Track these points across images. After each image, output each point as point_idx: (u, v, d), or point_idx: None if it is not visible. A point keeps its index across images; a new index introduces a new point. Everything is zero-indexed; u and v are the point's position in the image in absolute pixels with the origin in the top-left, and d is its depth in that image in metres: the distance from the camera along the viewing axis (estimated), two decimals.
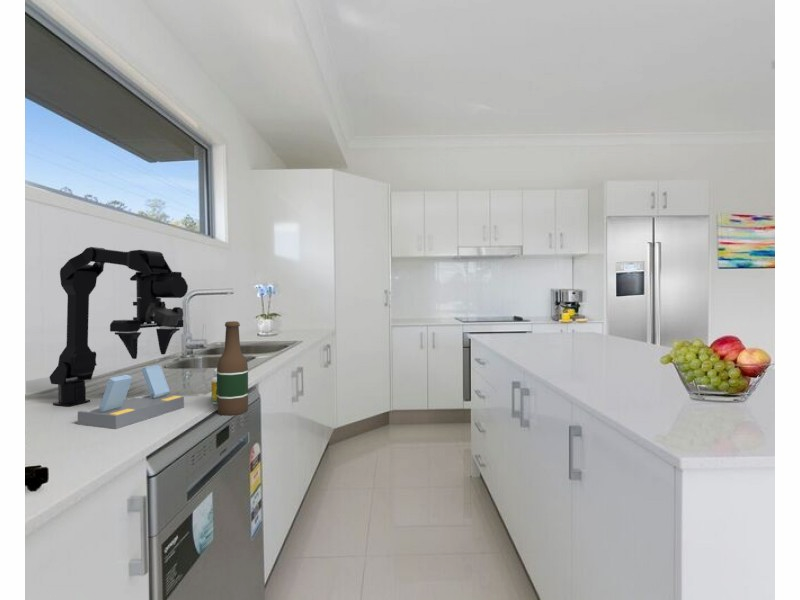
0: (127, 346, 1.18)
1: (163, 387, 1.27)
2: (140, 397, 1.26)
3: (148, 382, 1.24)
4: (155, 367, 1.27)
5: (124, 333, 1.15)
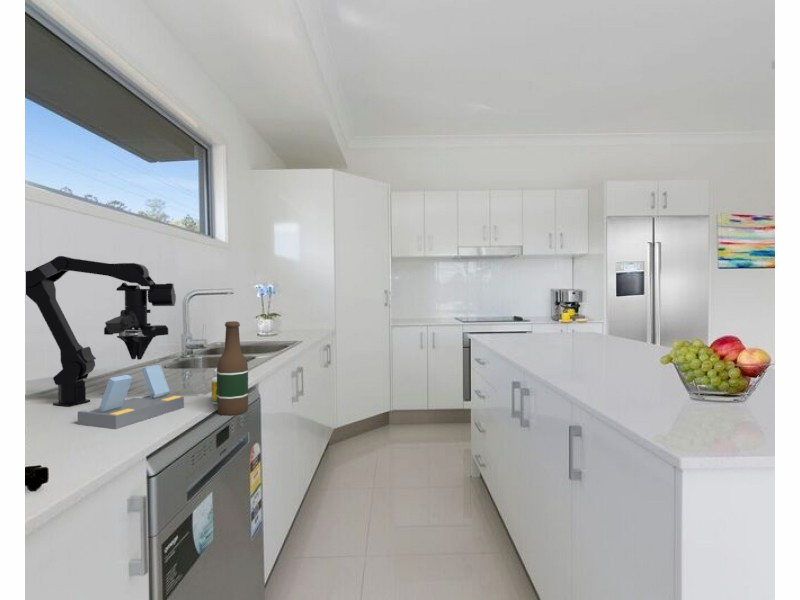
0: None
1: (163, 387, 1.27)
2: (140, 397, 1.26)
3: (148, 382, 1.24)
4: (155, 367, 1.27)
5: None
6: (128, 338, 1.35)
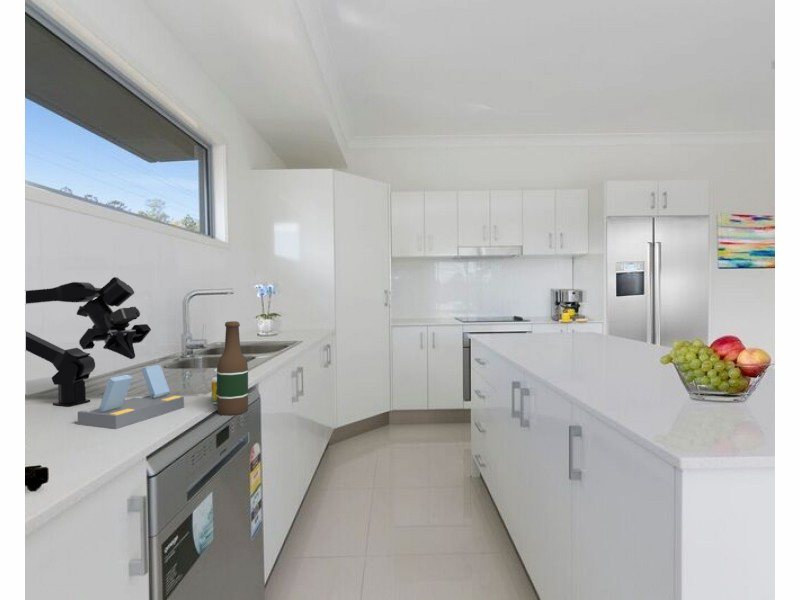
0: (120, 352, 1.29)
1: (163, 387, 1.27)
2: (140, 397, 1.26)
3: (148, 382, 1.24)
4: (155, 367, 1.27)
5: (109, 339, 1.27)
6: None
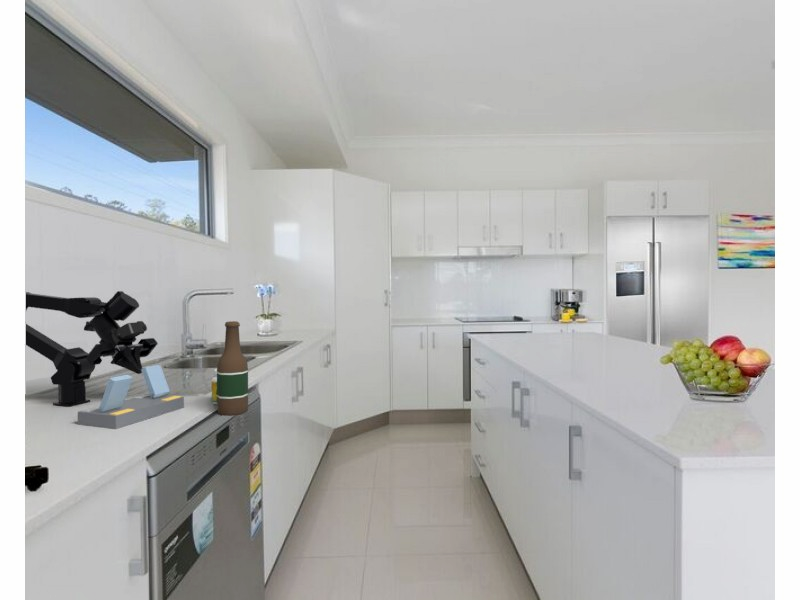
0: (128, 367, 1.28)
1: (163, 387, 1.27)
2: (140, 397, 1.26)
3: (148, 382, 1.24)
4: (155, 367, 1.27)
5: (117, 354, 1.26)
6: None
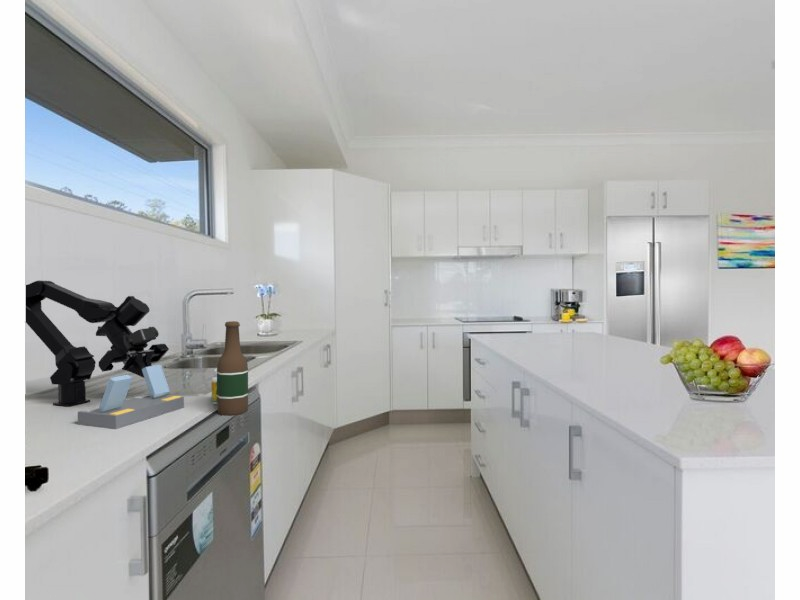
0: (139, 373, 1.27)
1: (163, 387, 1.27)
2: (140, 397, 1.26)
3: (148, 382, 1.24)
4: (155, 367, 1.27)
5: (128, 361, 1.25)
6: None
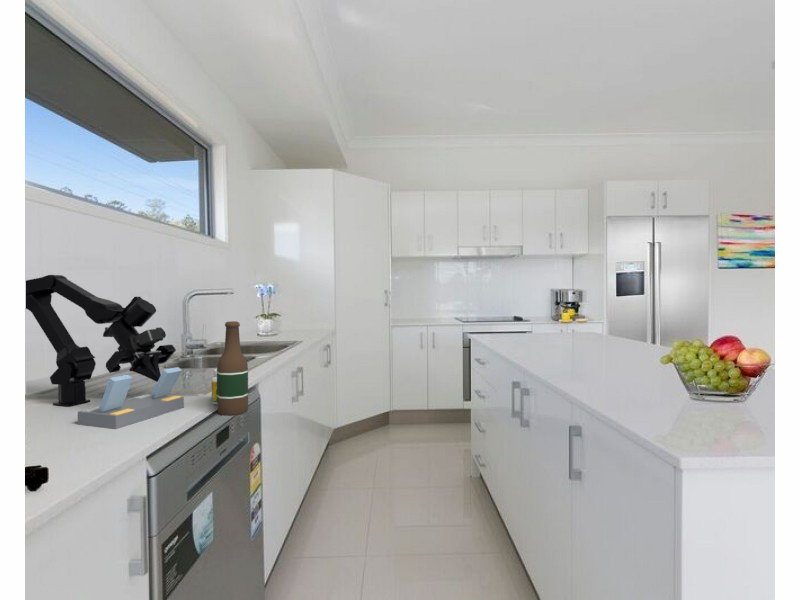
0: (146, 374, 1.26)
1: (167, 390, 1.26)
2: (140, 397, 1.26)
3: (159, 384, 1.23)
4: (175, 373, 1.25)
5: (135, 362, 1.24)
6: None
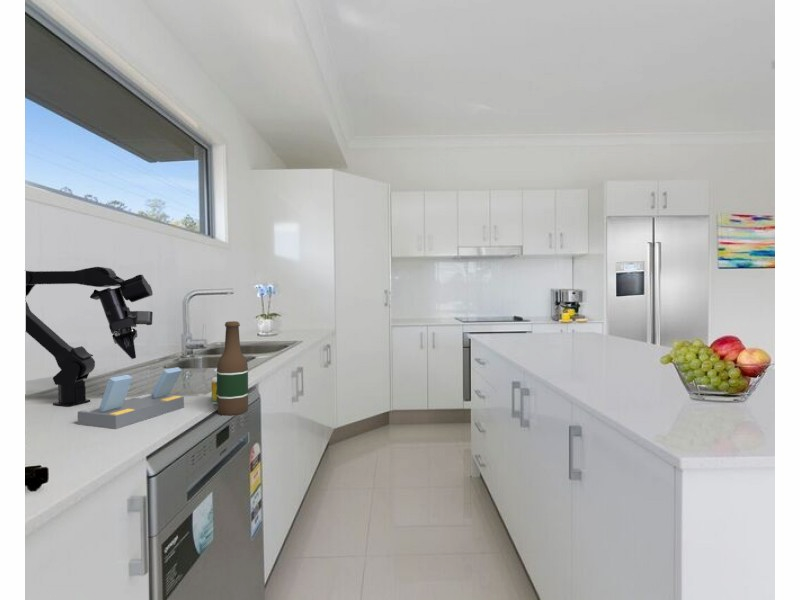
0: (126, 348, 1.31)
1: (167, 390, 1.26)
2: (140, 397, 1.26)
3: (159, 384, 1.23)
4: (175, 373, 1.25)
5: (127, 333, 1.31)
6: None
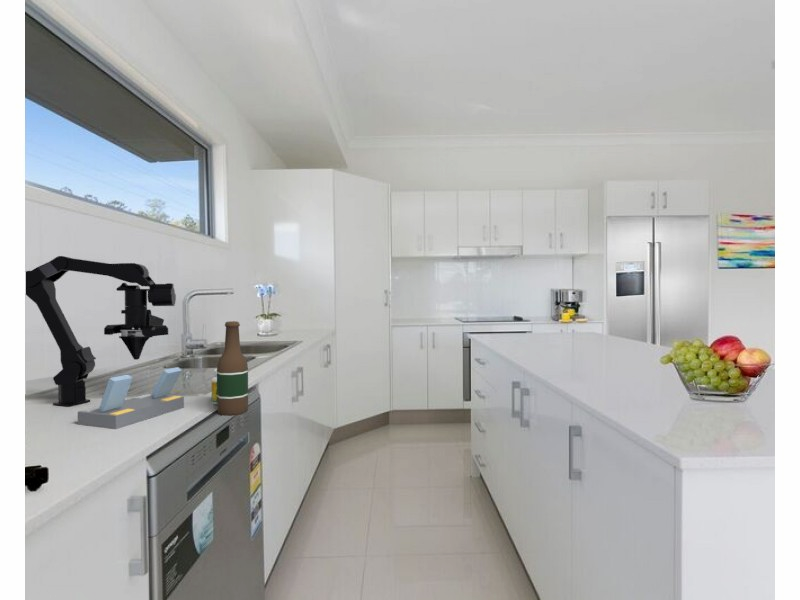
0: (137, 348, 1.35)
1: (167, 390, 1.26)
2: (140, 397, 1.26)
3: (159, 384, 1.23)
4: (175, 373, 1.25)
5: (147, 336, 1.36)
6: None
